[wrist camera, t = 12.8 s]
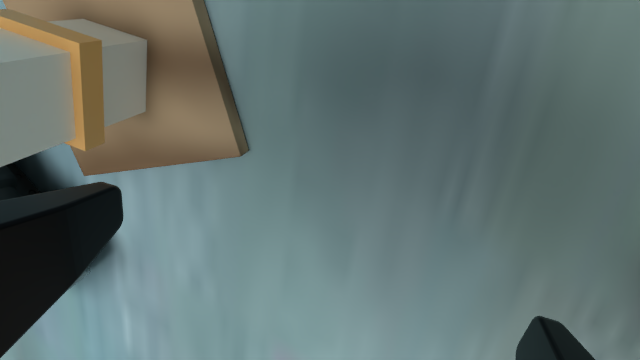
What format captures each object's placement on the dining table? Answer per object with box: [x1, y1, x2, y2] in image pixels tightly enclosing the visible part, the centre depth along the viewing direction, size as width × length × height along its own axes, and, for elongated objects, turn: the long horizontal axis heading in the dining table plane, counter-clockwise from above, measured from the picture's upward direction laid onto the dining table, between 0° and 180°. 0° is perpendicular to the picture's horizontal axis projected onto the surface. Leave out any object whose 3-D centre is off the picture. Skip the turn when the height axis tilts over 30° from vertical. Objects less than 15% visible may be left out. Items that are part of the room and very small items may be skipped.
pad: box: [3, 0, 249, 176], centre depth 23 cm, size 12×12×1 cm
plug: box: [0, 9, 147, 167], centre depth 17 cm, size 5×5×12 cm
